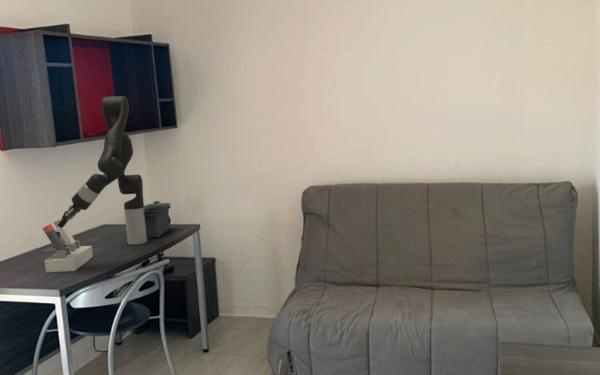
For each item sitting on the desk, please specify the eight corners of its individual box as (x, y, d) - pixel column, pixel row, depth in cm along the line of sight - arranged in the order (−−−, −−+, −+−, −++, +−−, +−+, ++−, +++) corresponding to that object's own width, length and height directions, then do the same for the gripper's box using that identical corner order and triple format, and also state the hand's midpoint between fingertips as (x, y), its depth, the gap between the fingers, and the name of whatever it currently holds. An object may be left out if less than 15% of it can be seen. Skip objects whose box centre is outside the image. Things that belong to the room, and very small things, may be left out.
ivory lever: (74, 248, 266) (57, 220, 264) (78, 246, 266) (61, 218, 264) (70, 251, 262) (53, 222, 260) (75, 248, 262) (57, 220, 260)
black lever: (64, 255, 255) (46, 226, 253) (69, 252, 255) (50, 223, 253) (60, 258, 251) (42, 228, 249) (65, 255, 251) (46, 225, 249)
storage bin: (161, 238, 298) (159, 210, 296) (131, 239, 300) (128, 211, 298) (175, 229, 319) (172, 202, 317) (146, 230, 321) (144, 203, 319)
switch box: (66, 258, 270) (64, 240, 269) (92, 256, 270) (90, 238, 269) (45, 272, 248) (43, 253, 247) (74, 270, 248) (72, 251, 247)
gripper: (84, 187, 255) (59, 217, 257) (72, 192, 242) (46, 224, 244) (98, 199, 256) (72, 228, 258) (87, 205, 243) (60, 236, 245)
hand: (59, 226), depth 251 cm, fingers closed
